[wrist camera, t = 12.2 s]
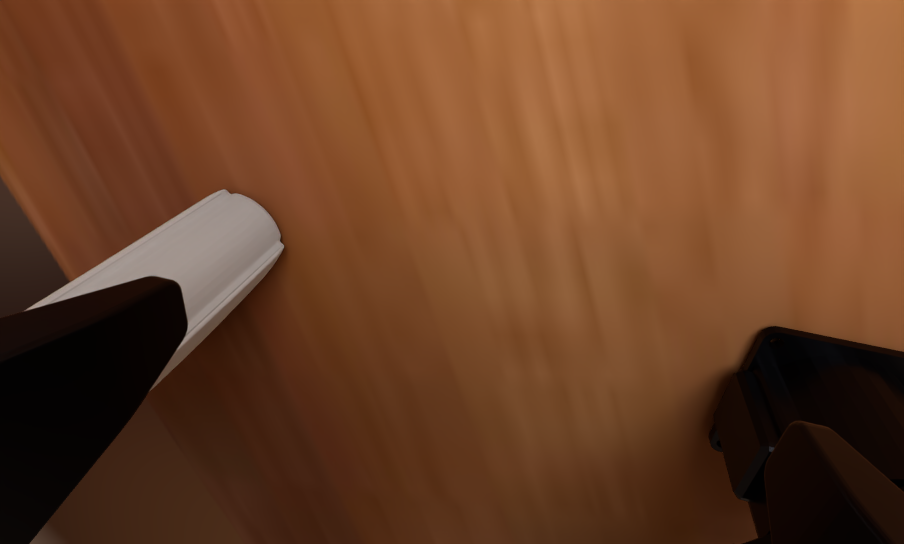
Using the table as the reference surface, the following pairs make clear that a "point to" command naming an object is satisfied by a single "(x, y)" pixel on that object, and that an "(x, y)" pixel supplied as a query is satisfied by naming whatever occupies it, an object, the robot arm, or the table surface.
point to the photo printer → (195, 262)
